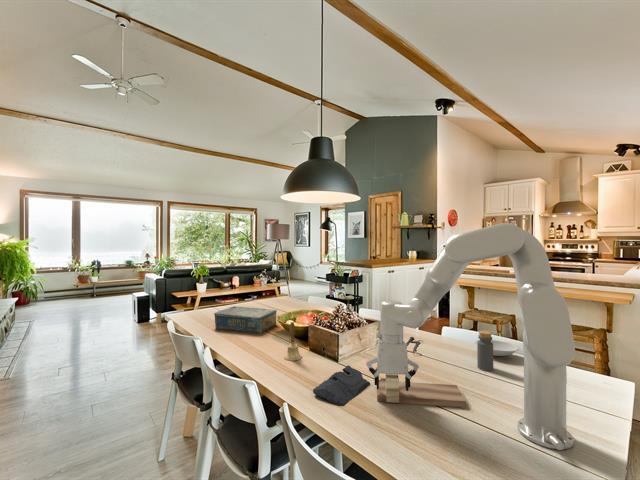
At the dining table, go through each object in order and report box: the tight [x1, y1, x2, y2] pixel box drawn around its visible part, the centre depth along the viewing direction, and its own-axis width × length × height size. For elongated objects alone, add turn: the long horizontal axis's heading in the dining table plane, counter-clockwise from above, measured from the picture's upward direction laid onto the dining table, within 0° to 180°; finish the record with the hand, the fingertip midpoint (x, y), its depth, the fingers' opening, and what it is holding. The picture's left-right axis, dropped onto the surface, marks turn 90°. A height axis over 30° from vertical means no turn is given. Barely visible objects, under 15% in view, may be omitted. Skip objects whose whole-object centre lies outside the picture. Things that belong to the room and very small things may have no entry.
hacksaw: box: [405, 336, 423, 357], centre depth 155 cm, size 24×10×2 cm, turn 150°
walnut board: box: [375, 379, 467, 408], centre depth 108 cm, size 11×28×2 cm, turn 81°
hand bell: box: [283, 321, 303, 362], centre depth 143 cm, size 8×8×16 cm
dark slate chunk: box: [312, 365, 371, 407], centre depth 114 cm, size 15×22×5 cm
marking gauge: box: [385, 374, 400, 404], centre depth 108 cm, size 10×4×8 cm, turn 171°
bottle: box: [476, 330, 494, 372], centre depth 130 cm, size 6×6×15 cm
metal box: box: [213, 305, 278, 334], centre depth 192 cm, size 21×32×10 cm, turn 70°
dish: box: [474, 339, 520, 357], centre depth 143 cm, size 18×14×5 cm
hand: (392, 388), depth 106 cm, fingers open, 9 cm apart
